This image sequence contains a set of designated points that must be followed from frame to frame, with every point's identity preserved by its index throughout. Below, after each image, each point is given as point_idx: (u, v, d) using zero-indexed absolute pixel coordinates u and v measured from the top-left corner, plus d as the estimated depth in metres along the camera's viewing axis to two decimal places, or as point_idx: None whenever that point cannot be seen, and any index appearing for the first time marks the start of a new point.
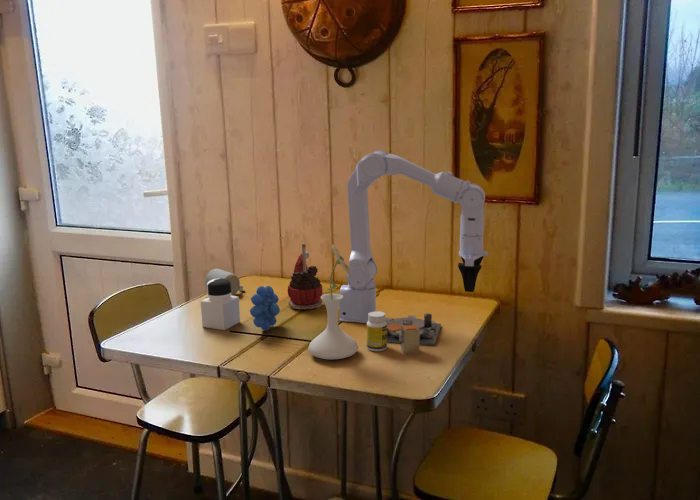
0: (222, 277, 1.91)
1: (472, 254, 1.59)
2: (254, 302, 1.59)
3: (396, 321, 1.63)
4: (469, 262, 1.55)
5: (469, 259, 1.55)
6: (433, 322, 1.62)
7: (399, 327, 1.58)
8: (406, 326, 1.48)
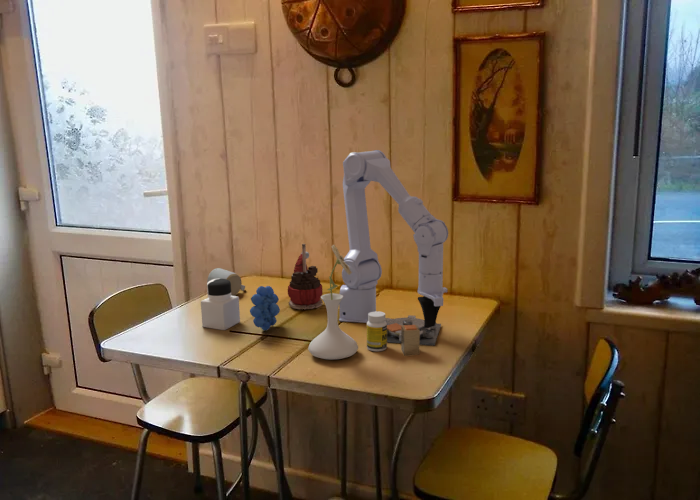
0: (224, 276, 1.92)
1: (435, 292, 1.53)
2: (254, 302, 1.59)
3: (396, 321, 1.63)
4: (439, 302, 1.49)
5: (439, 299, 1.49)
6: None
7: (399, 327, 1.58)
8: (406, 326, 1.48)
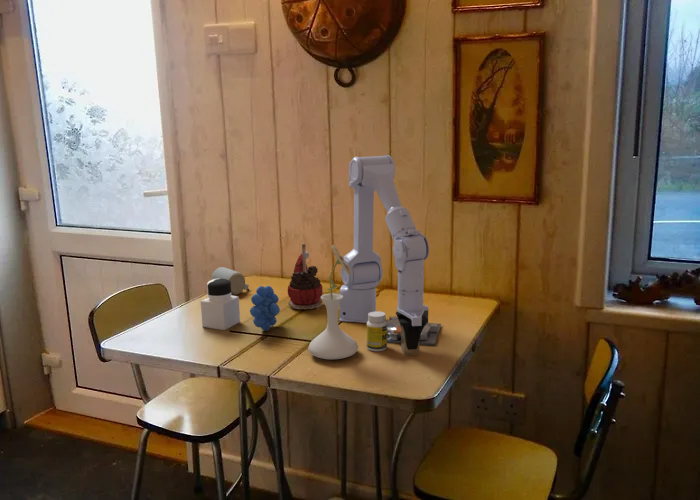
0: (228, 275, 1.93)
1: (415, 311, 1.44)
2: (254, 302, 1.59)
3: (392, 324, 1.61)
4: (417, 321, 1.40)
5: (417, 318, 1.40)
6: None
7: None
8: None
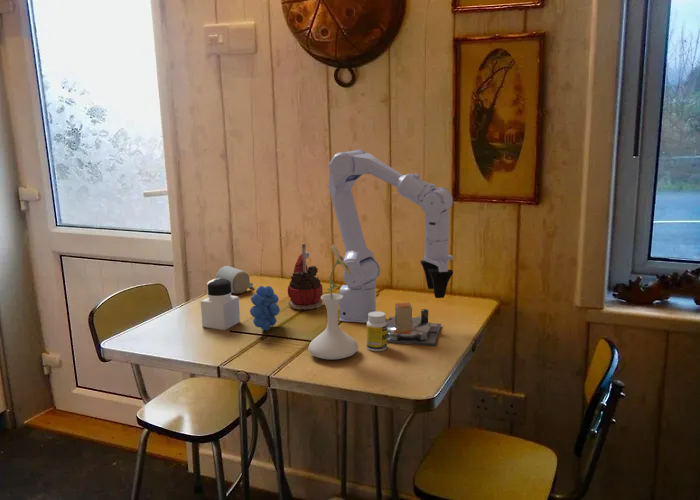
0: (232, 274, 1.94)
1: (441, 259, 1.55)
2: (254, 302, 1.59)
3: (392, 324, 1.61)
4: (443, 268, 1.51)
5: (443, 264, 1.51)
6: (421, 317, 1.66)
7: None
8: (399, 304, 1.56)
